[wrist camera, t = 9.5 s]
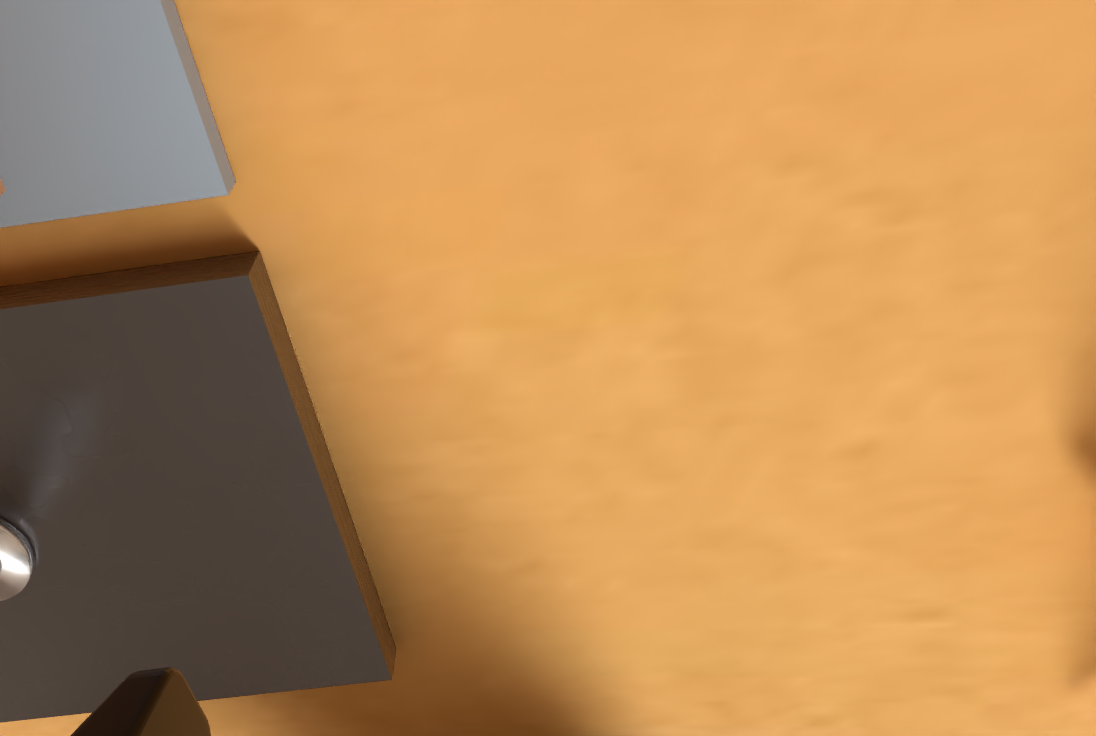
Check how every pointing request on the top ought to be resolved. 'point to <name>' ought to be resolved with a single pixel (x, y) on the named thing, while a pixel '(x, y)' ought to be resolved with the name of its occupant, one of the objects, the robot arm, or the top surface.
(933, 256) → the top surface
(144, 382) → the peg stand
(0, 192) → the c link
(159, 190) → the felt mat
